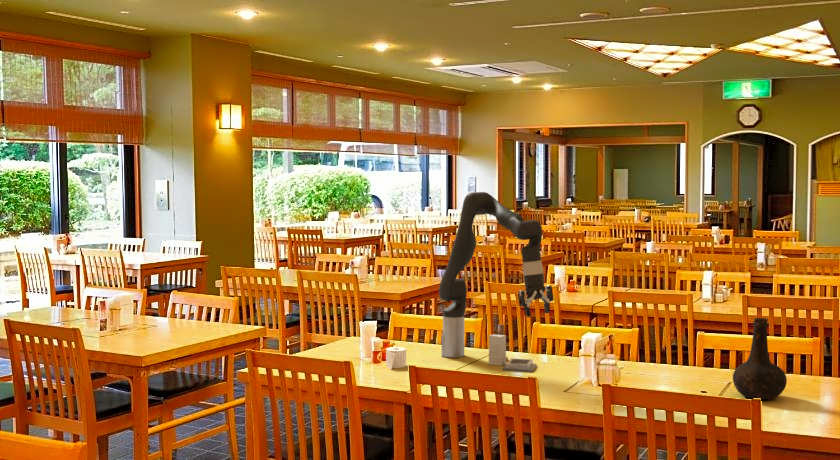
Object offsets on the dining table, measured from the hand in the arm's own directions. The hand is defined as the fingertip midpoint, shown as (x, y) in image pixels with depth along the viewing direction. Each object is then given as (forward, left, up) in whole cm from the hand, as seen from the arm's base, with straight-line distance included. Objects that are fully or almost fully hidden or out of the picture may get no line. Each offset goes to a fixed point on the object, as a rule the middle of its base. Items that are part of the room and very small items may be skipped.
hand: (537, 314), depth 344 cm
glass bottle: (+79, -9, -25) cm, 83 cm away
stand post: (-19, +31, -25) cm, 44 cm away
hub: (-9, +17, -25) cm, 31 cm away
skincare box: (-19, +22, -25) cm, 38 cm away
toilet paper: (-59, +7, -25) cm, 64 cm away
